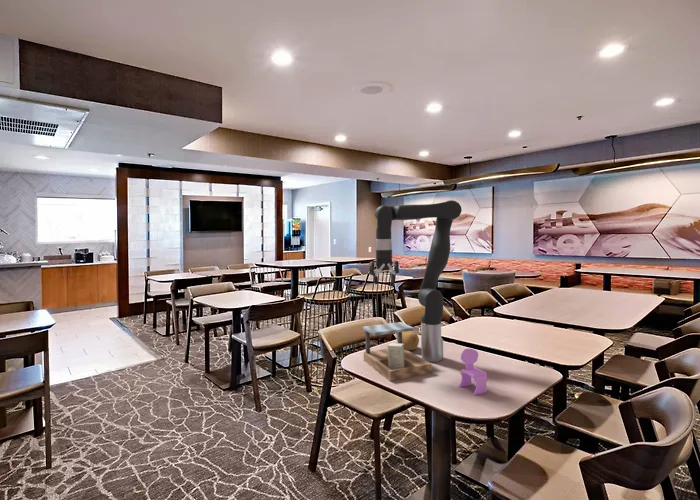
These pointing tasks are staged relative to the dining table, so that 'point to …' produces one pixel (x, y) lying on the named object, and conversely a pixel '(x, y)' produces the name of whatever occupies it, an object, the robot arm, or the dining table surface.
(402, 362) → the skincare box
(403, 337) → the potato
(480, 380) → the chair
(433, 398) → the dining table surface
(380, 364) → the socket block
